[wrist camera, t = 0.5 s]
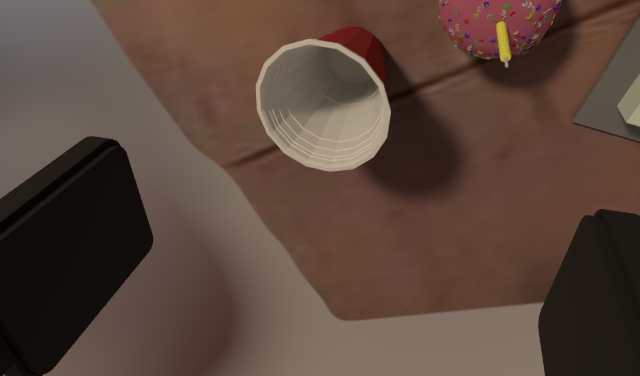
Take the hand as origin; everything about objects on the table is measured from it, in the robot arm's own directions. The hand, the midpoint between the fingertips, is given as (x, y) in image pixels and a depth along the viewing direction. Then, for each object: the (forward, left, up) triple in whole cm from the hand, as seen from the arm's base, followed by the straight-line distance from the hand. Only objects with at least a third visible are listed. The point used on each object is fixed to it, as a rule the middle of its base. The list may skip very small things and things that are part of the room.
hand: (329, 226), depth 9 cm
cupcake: (+2, +6, -34) cm, 35 cm away
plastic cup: (+11, -4, -34) cm, 36 cm away
